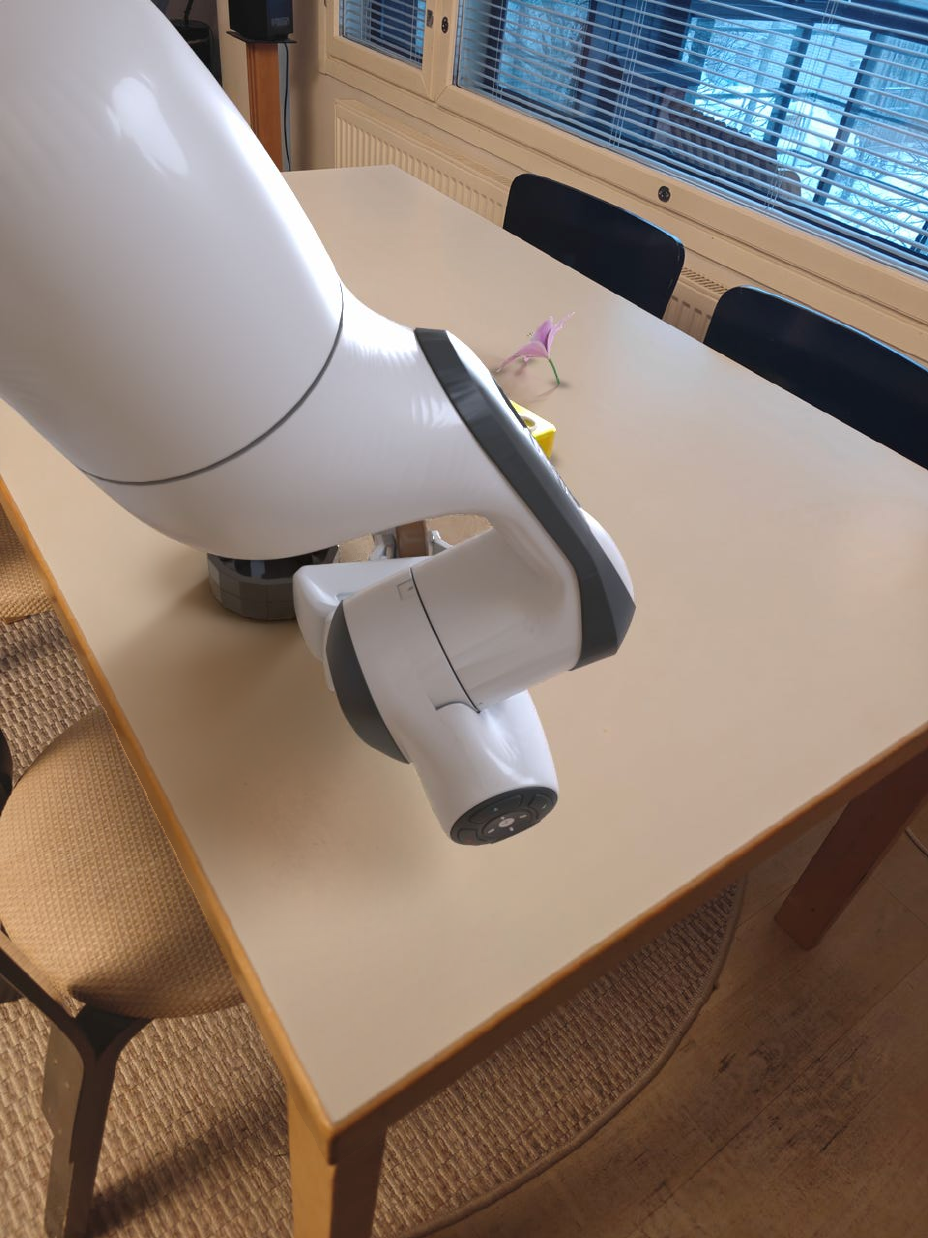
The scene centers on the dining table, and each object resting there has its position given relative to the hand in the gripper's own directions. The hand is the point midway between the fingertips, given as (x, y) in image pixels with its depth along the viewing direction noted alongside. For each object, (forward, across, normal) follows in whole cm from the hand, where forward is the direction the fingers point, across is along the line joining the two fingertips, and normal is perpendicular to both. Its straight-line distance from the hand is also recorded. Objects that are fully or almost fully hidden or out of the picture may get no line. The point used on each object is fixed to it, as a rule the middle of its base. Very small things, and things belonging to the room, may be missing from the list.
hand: (404, 538), depth 73 cm
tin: (+4, 0, +5) cm, 6 cm away
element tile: (+28, -14, +9) cm, 33 cm away
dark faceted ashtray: (+6, +11, +9) cm, 15 cm away
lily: (+48, -29, +9) cm, 57 cm away
